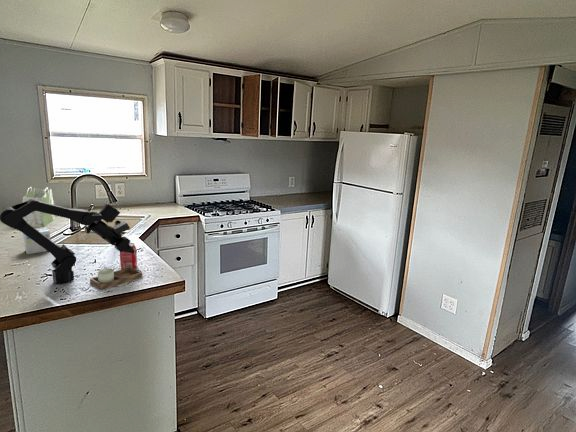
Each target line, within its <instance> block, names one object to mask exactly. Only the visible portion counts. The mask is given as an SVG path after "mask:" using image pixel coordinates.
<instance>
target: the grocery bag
mask: <svg viewBox="0 0 576 432" xmlns="http://www.w3.org/2000/svg"><path fill="white" fill-rule="evenodd" d="M29 190H30V191H29ZM30 199H36V200H38V201H41V202H45V203H49V204H53V205H56V204H55V200H54V197H53V191H52V188H49V187H45V189H41V188H38V187H34V188H32V186H30V187H28V188H27V191H26V194H25V195H24V196H23V197H22V202H21V203H23V202H26V201H28V200H30ZM57 217H58V216H56V215H52V214H47V213H43V212H39V211H34V212H32V213H30V214H29V215H27V216H25V217H23V218H24V220H25V221H26V222H27V223H28V224H30V225H31V226H32V227H34V228H46V227H47V226H48V225H49V224H52V223H53V222H54V221H55V219H56V218H57Z"/></svg>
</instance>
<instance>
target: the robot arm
mask: <svg viewBox="0 0 576 432" xmlns="http://www.w3.org/2000/svg"><path fill="white" fill-rule="evenodd" d="M34 211H39V212H43V213H47V214H52V215H56V216H57V217H60V218H65V219H69V220H71V221H74V222H75V223H77V224H80V225H82V226H84V232H85V233H86V234H88V235H89V234H90V232H93V233H94V234H96V235H97V236H98V237H100V238H101V239H102V240H104V241H105V242H107V243H108V244H110V245H111V246H114V249H116V250H117V251H118V252H119V253H120V252H122V251H123V252H129V253H134V252H135V251H134V250H133V248H132V247H131V246H130V245H129V243H131V240H130V239H129V238H127V237H126V236H122V235H123V233H124V232H126V231H129V230H130V229H131V227H130V226H129V223H128V222H127V221H125V220H121V221H120V220H119V219H117V218H118V216H119V215H120V214H121V211H119V210H118V209H117V208H115V207H113V206H112V205H110V204H109V203H105V204H104V206H103V207H102V208H101V210H99V211H98V212H97V211H89V210H88V209H84V208H68V207H64V206H59V205H57V204H55V205H53V204H49V203H45V202H41V201H38V200H36V199H30V200H28V201H26V202H23V203H22V202H21V203H17V204H14V205H12V206H4V207H2V208H0V222H1V223H2V224H3V225H6V226H7V227H9V228H12V229H14V230H17V231H19V232H21V233H22V234H23V233H24V234H25V235H26V236H28V237H29V238H31V239H32V240H33V241H35V242H36V243H37V244H39V245H40V246H42V247H43V248H44V249H46V250H47V251H46V252H48V253H50V254H51V255H52V256H53V258H54V260H52V261H51V263H50V264H51V266H52V268H54V269H52V270H51V273H52V282H53V284H55V285H57V286H58V285H64V284H65V285H66V284H68V283H70V282H72V281H75V275H74V271H73V267H74V265H75V264H76V262H77V257H76V256H75V255H76V253H75V252H74V251H73V250H72V249H71V248H68V246H66V245H65V244H64V243H63V244H62V245H61V246H60V245H58V244H57V243H55V242H53V241H52V240H50V239H51V238H50V239H48V238H47V237H46V236H44V235H43V234H42V233H40V232H39V231H38V230H37V229H36V227H32V226H31V225H30V224H28V223H27V222H26V221H25V220H24V218H23V217H25V216H27V215H29V214H30V213H32V212H34ZM115 219H116V220H115ZM114 220H115V221H114ZM113 222H114V224H113V226H111V225H109V224H110V223H113ZM108 223H109V224H108Z"/></svg>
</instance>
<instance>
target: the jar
mask: <svg viewBox="0 0 576 432" xmlns="http://www.w3.org/2000/svg"><path fill="white" fill-rule="evenodd" d="M114 272H115V270H114V269H112V268H101V269H100V270H98V271H97V276H98V282H99V283H101V284H105V283H108V282H112V281H114Z"/></svg>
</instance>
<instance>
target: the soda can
mask: <svg viewBox="0 0 576 432" xmlns="http://www.w3.org/2000/svg"><path fill="white" fill-rule="evenodd" d="M129 245H130V246H131V247H132V248H133V250H134V251H135V252H134V253H129V252H123V251H122V252H120V251H119V262H120V263H119V265H120V270H122V269H125V268H128V267H131V268H133V269H135V270H136V268H137V267H138V257H137V256H138V254H137V247H136V245H135V243H133V242H130V243H129Z"/></svg>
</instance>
